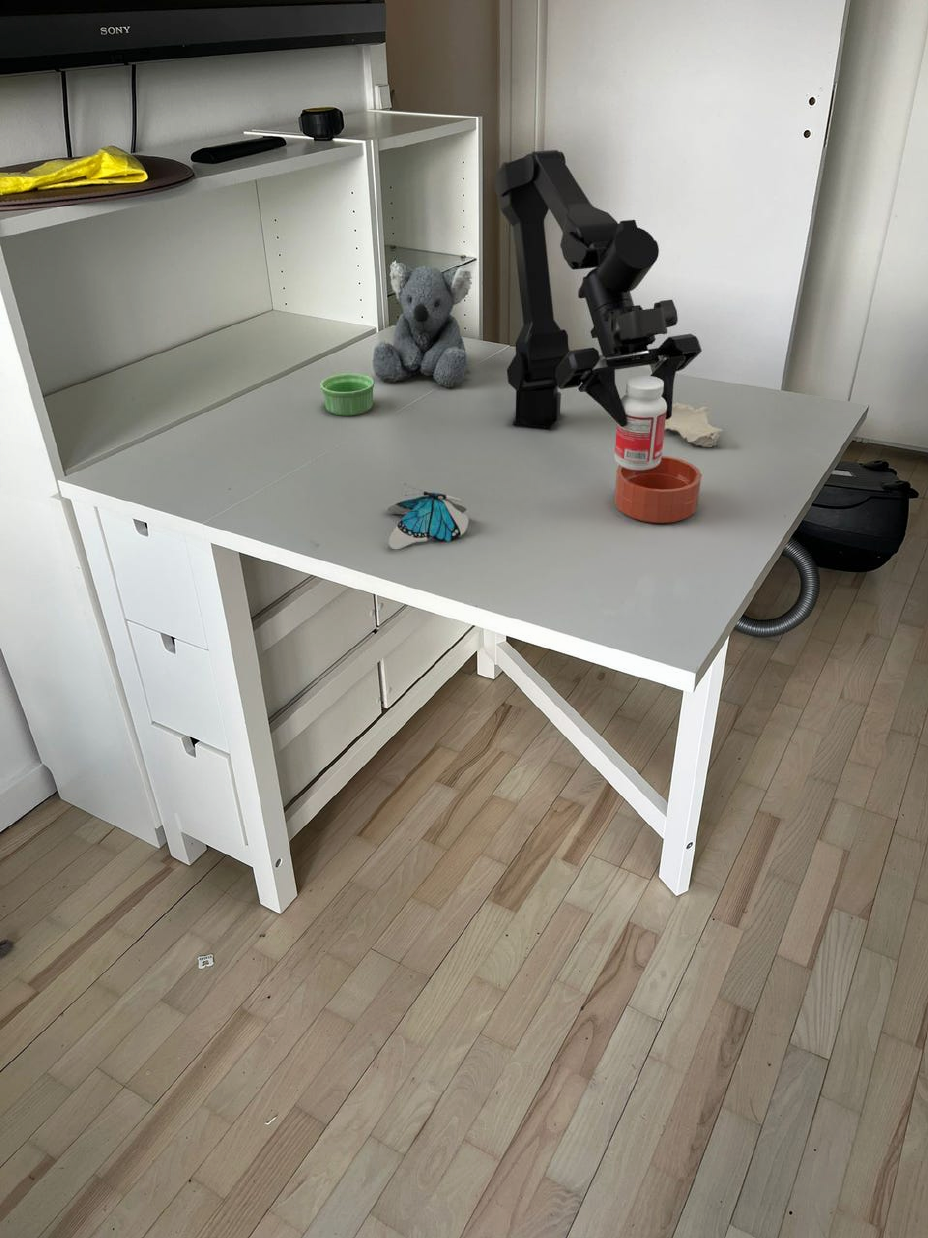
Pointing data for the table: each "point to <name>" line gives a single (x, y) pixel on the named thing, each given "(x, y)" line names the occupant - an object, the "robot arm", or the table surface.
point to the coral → (693, 425)
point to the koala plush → (425, 326)
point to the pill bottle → (641, 424)
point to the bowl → (658, 491)
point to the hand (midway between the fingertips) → (646, 421)
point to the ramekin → (348, 394)
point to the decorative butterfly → (428, 520)
